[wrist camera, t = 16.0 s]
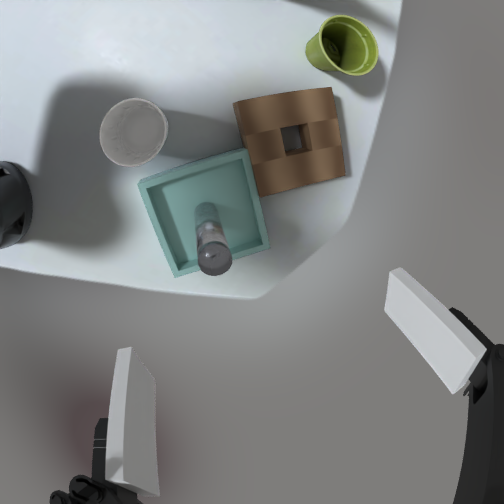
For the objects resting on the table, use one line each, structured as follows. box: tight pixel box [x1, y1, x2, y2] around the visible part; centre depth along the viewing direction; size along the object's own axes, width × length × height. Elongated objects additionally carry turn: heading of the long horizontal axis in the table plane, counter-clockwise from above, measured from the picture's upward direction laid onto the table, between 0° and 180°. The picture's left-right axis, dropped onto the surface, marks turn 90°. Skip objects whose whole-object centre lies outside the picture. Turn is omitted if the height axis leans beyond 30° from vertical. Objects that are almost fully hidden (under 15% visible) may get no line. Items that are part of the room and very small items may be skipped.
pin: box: [194, 202, 232, 276], centre depth 35 cm, size 4×4×15 cm
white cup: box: [99, 98, 169, 167], centre depth 30 cm, size 8×8×10 cm
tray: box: [137, 148, 270, 278], centre depth 41 cm, size 16×16×3 cm
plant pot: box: [306, 15, 378, 76], centre depth 30 cm, size 9×9×9 cm
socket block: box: [233, 87, 345, 197], centre depth 38 cm, size 14×14×4 cm
